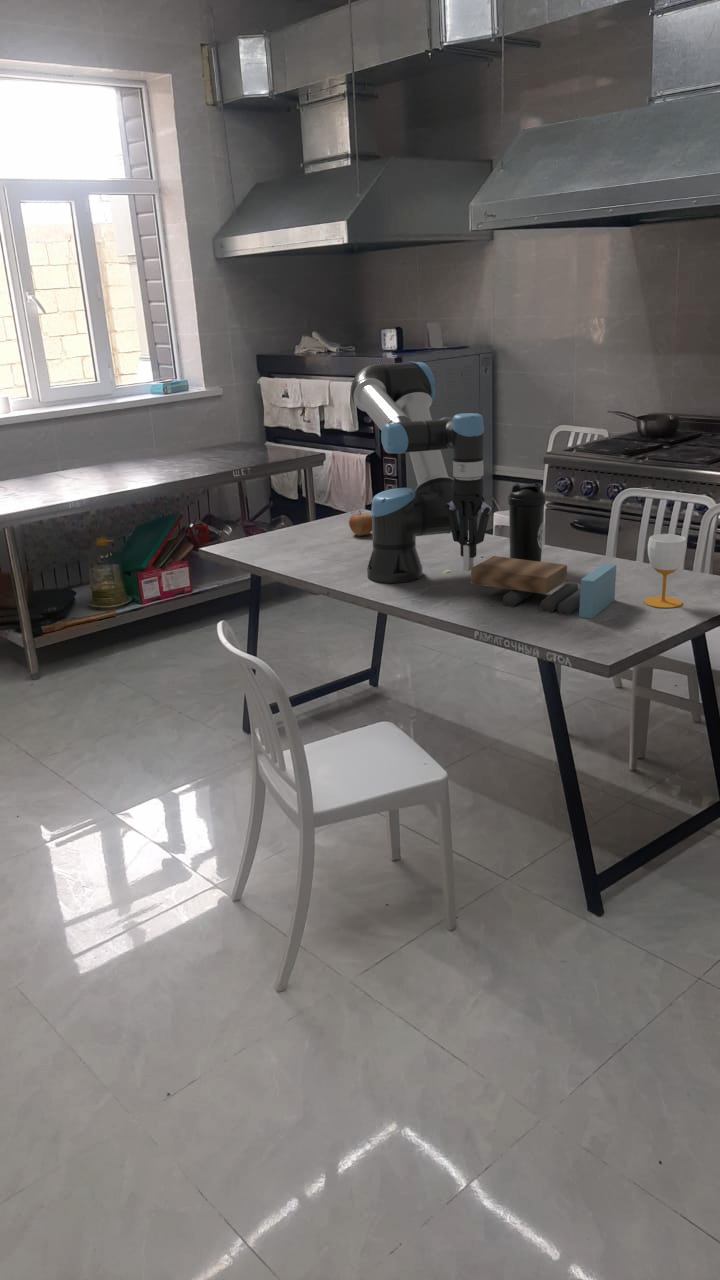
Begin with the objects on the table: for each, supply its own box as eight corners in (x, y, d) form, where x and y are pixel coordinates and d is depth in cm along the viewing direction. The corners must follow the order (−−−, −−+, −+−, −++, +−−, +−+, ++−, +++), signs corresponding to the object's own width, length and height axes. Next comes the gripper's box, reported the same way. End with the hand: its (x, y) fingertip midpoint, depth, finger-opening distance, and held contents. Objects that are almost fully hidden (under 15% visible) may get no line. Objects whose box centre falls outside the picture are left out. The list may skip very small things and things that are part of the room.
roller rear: (517, 597, 234) (505, 591, 235) (513, 609, 235) (500, 603, 237) (543, 580, 246) (531, 574, 248) (539, 592, 248) (527, 586, 249)
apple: (347, 538, 308) (346, 513, 305) (351, 532, 315) (350, 507, 312) (372, 538, 306) (371, 513, 304) (376, 532, 314) (375, 507, 311)
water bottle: (543, 571, 263) (545, 487, 255) (505, 570, 265) (507, 487, 258) (544, 561, 273) (546, 480, 265) (507, 561, 275) (509, 480, 267)
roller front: (574, 606, 226) (561, 598, 227) (567, 618, 228) (555, 610, 229) (598, 588, 239) (586, 581, 240) (591, 600, 241) (579, 592, 242)
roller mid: (549, 615, 231) (556, 604, 229) (537, 607, 232) (544, 596, 230) (574, 597, 243) (581, 586, 241) (562, 590, 244) (569, 579, 242)
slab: (471, 583, 241) (471, 568, 240) (493, 570, 252) (493, 556, 250) (546, 594, 231) (546, 578, 230) (566, 580, 241) (567, 564, 240)
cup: (676, 610, 228) (681, 544, 223) (638, 605, 233) (642, 540, 227) (686, 600, 235) (692, 535, 230) (649, 595, 240) (654, 532, 234)
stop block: (579, 616, 226) (580, 579, 223) (602, 598, 239) (604, 563, 236) (591, 618, 225) (593, 581, 222) (614, 599, 237) (616, 564, 234)
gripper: (437, 478, 241) (439, 569, 248) (485, 481, 234) (484, 575, 241) (452, 473, 246) (453, 563, 254) (498, 476, 239) (498, 568, 247)
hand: (468, 569), depth 248 cm, fingers closed
